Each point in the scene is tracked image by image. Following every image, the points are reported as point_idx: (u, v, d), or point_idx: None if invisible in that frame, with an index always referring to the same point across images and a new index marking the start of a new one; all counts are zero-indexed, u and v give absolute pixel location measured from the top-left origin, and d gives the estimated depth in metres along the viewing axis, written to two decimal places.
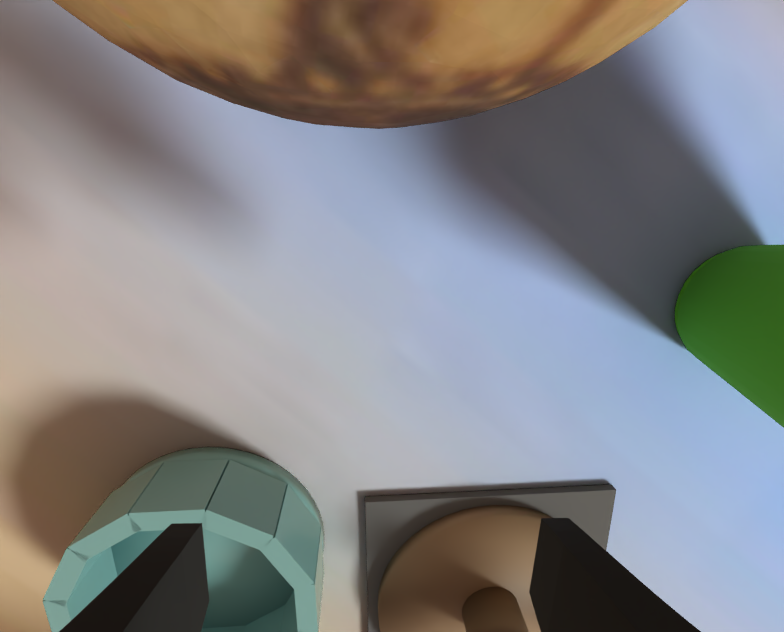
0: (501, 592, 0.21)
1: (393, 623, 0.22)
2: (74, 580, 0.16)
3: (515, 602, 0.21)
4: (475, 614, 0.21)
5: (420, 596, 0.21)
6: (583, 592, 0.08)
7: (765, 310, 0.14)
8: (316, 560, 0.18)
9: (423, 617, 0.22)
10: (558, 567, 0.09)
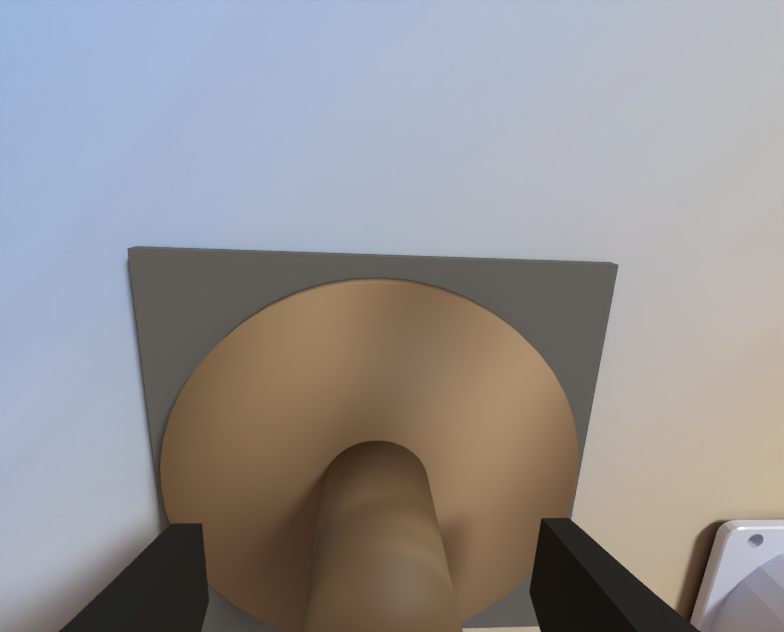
0: (324, 480, 0.11)
1: None
2: None
3: (340, 464, 0.11)
4: None
5: None
6: (583, 592, 0.08)
7: None
8: None
9: None
10: (558, 567, 0.09)
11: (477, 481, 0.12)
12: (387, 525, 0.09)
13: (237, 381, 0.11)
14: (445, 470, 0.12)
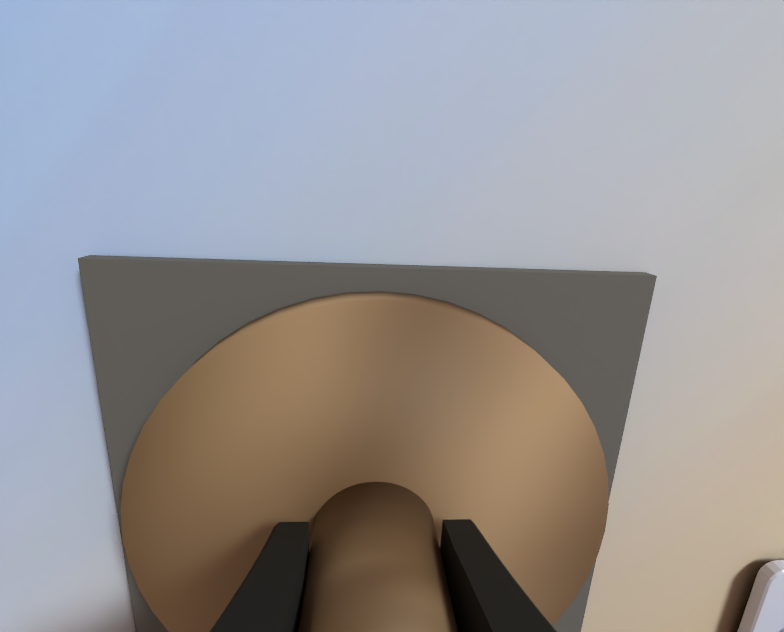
0: (313, 529, 0.10)
1: None
2: None
3: (332, 512, 0.09)
4: None
5: None
6: (464, 595, 0.08)
7: None
8: None
9: None
10: (450, 570, 0.08)
11: (491, 526, 0.10)
12: (388, 604, 0.07)
13: (209, 415, 0.09)
14: (454, 514, 0.10)
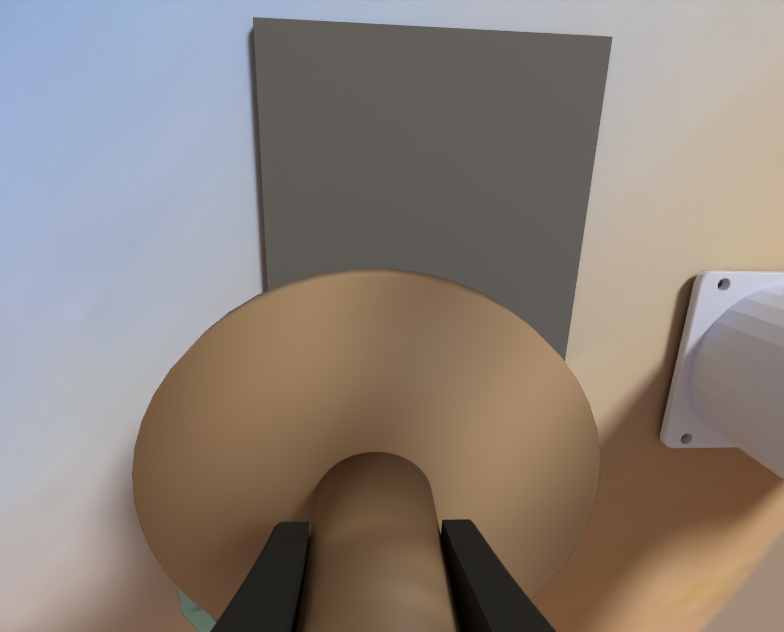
0: (316, 495, 0.10)
1: None
2: None
3: (334, 479, 0.10)
4: None
5: None
6: (463, 596, 0.08)
7: None
8: None
9: None
10: (450, 570, 0.08)
11: (486, 496, 0.11)
12: (387, 562, 0.07)
13: (217, 385, 0.09)
14: (451, 484, 0.11)
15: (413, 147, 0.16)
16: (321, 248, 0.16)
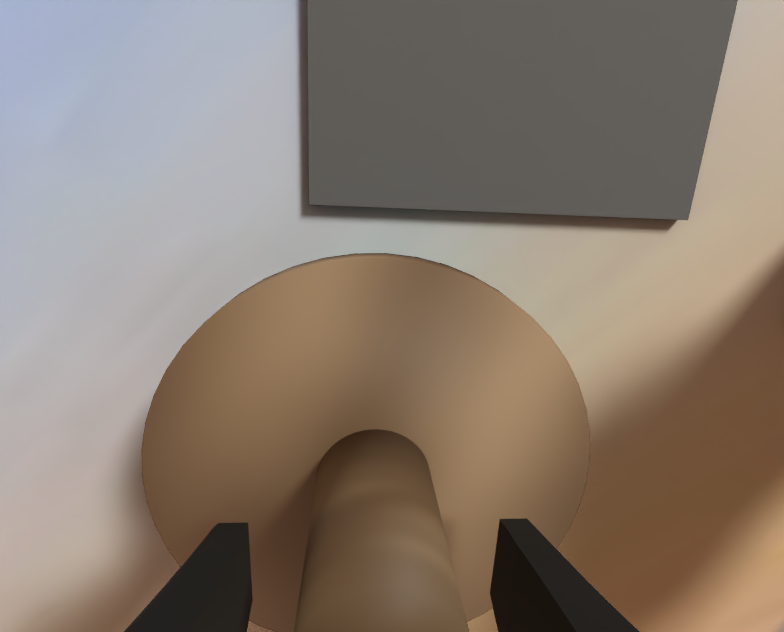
0: (319, 471, 0.11)
1: None
2: None
3: (336, 453, 0.10)
4: None
5: None
6: (533, 593, 0.08)
7: None
8: None
9: None
10: (513, 568, 0.09)
11: (482, 475, 0.11)
12: (388, 519, 0.08)
13: (227, 362, 0.10)
14: (448, 463, 0.11)
15: None
16: (382, 32, 0.12)
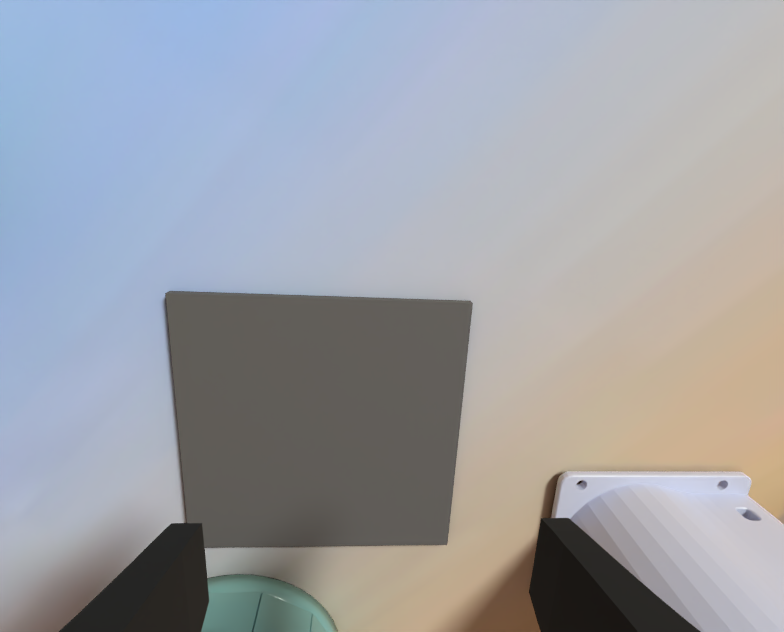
0: None
1: None
2: None
3: None
4: None
5: None
6: (583, 592, 0.08)
7: None
8: None
9: None
10: (558, 567, 0.09)
11: None
12: None
13: None
14: None
15: (306, 385, 0.18)
16: (229, 460, 0.19)
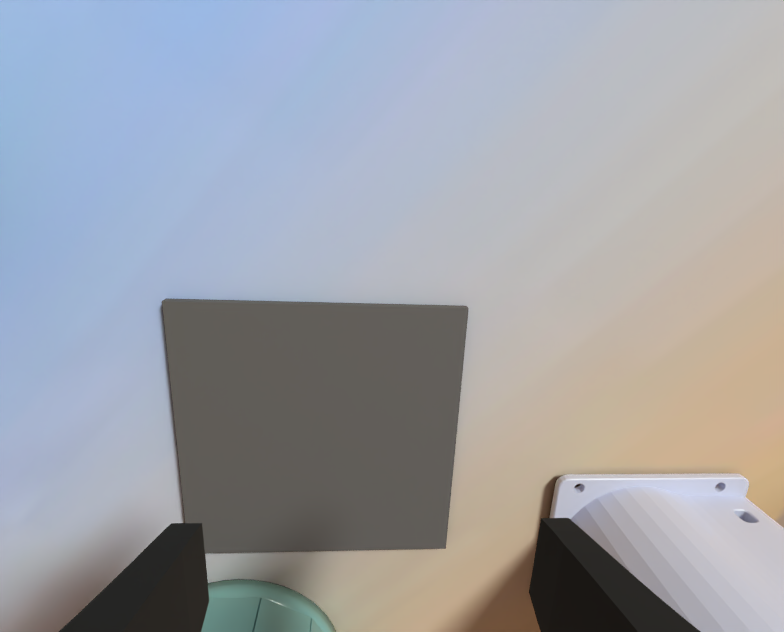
0: None
1: None
2: None
3: None
4: None
5: None
6: (583, 592, 0.08)
7: None
8: None
9: None
10: (558, 567, 0.09)
11: None
12: None
13: None
14: None
15: (303, 391, 0.19)
16: (227, 466, 0.19)
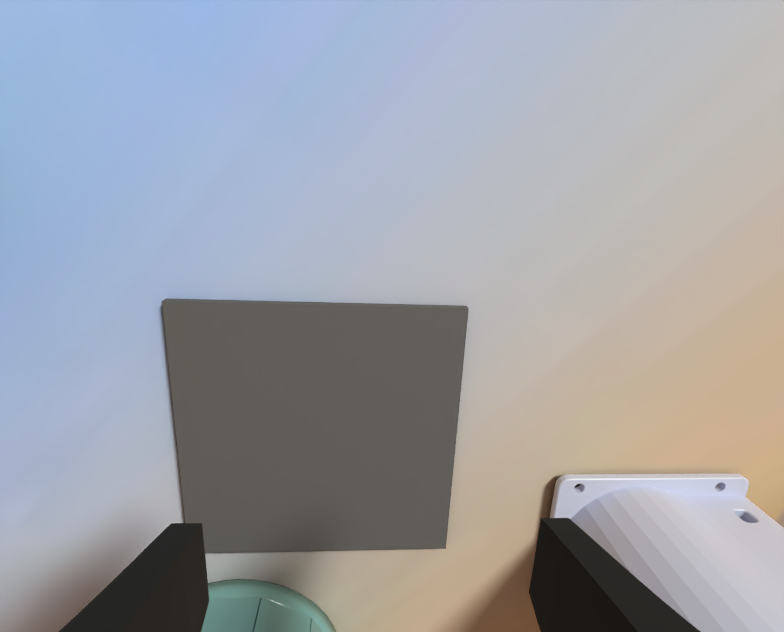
0: None
1: None
2: None
3: None
4: None
5: None
6: (583, 592, 0.08)
7: None
8: None
9: None
10: (558, 567, 0.09)
11: None
12: None
13: None
14: None
15: (303, 391, 0.19)
16: (227, 466, 0.19)
